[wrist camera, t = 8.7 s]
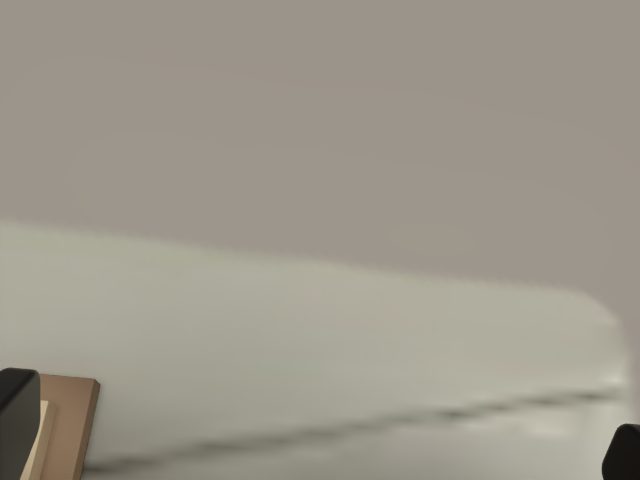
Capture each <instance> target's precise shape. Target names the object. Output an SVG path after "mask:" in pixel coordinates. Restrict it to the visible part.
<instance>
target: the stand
mask: <svg viewBox="0 0 640 480" xmlns="http://www.w3.org/2000/svg"><path fill="white" fill-rule="evenodd" d="M39 375H40V381H41V419H40V426H39V430H38V434H37V437H36V439H35V442H34V445H33V447H32V450H31V452H30V455H29V457H28V460H27V463H26V465H25V468H24V470H23V473H22V475H21V478H20V480H80V477H81V472H82V467H83V463H84V458H85V453H86V449H87V444H88V440H89V435H90V430H91V426H92V421H93V416H94V412H95V407H96V402H97V398H98V393H99V388H100V384H99V383H98V382H97V381H96V380H95V379H90V378H78V377H67V376H56V375H45V374H39Z"/></svg>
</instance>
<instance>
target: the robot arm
mask: <svg viewBox="0 0 640 480" xmlns="http://www.w3.org/2000/svg"><path fill="white" fill-rule="evenodd" d="M40 419H41V381H40V375H39V373H38V372H37V371H36V370H31V369H21V368H6V369H4V370H2V371H0V480H20V478H21V475H22V473H23V470H24V468H25V465H26V463H27V460H28V457H29V455H30V452H31V450H32V447H33V445H34V442H35V439H36V437H37V434H38V430H39V426H40ZM602 476H603V479H604V480H640V425H637V424H623V425H621V426H619V427H618V428H617V430H616V432H615V434H614V436H613V439H612V441H611V443H610V446H609V448H608V450H607V453H606V455H605V457H604V460H603V463H602Z"/></svg>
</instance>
